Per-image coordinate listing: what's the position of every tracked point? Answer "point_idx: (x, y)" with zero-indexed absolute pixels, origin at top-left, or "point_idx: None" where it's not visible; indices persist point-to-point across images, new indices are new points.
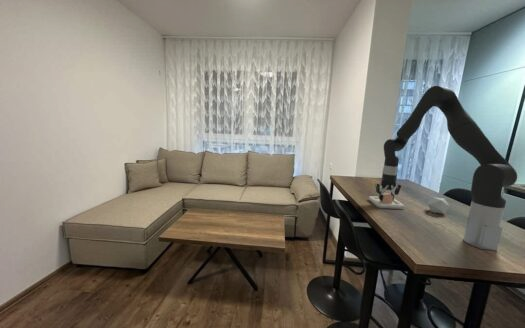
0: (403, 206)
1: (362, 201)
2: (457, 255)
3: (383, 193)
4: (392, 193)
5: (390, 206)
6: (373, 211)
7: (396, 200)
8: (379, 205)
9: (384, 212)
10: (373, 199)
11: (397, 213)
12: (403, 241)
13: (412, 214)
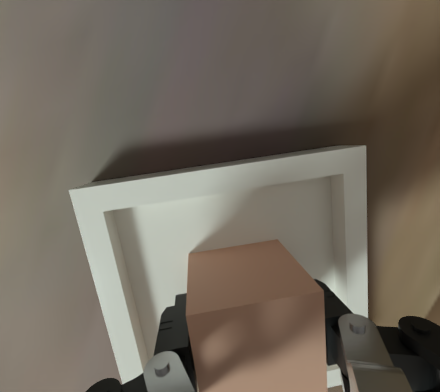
0: (85, 186)
1: (418, 277)
2: None
3: (295, 390)
4: (188, 379)
5: (230, 163)
6: (421, 18)
7: (119, 343)
8: (345, 146)
9: (323, 19)
10: (366, 285)
11: (196, 28)
12: None
13: (36, 43)
